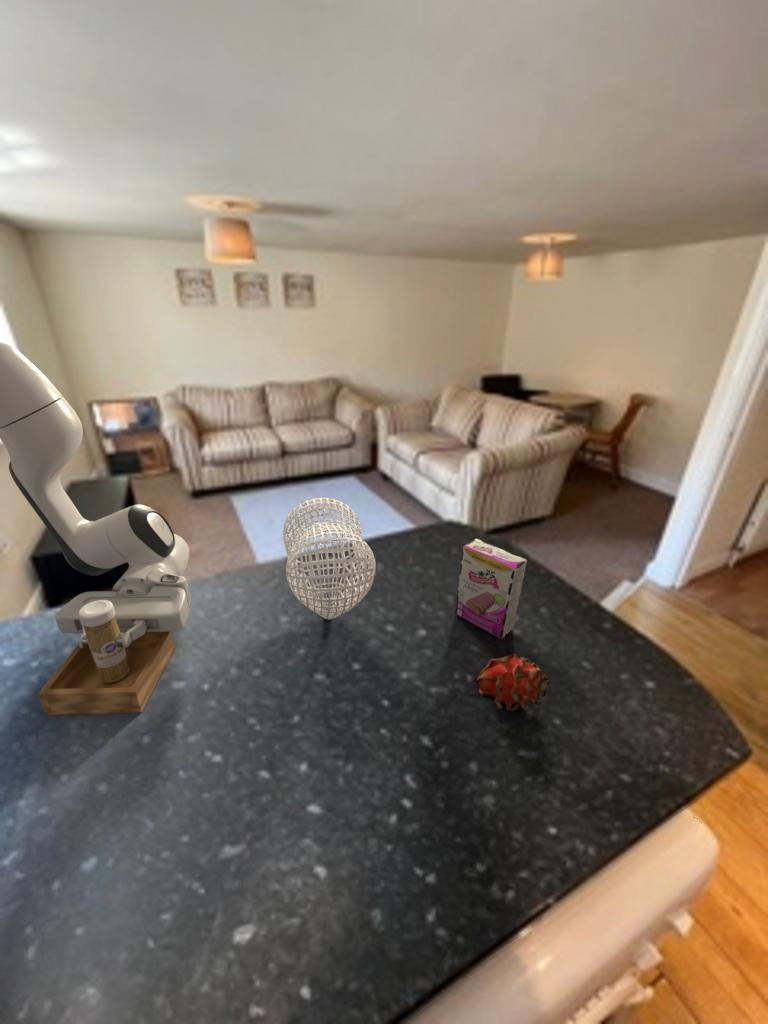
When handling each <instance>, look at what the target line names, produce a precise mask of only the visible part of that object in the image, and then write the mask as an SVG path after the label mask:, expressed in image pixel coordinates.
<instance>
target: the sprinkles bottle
mask: <svg viewBox="0 0 768 1024" xmlns="http://www.w3.org/2000/svg"><path fill="white" fill-rule="evenodd" d="M78 615H79V619H80V622H81V624H82V625H83V627H84V630H85V632H86V636H87V641H88V644H89V647H90V650H91V653H92V656H93V659H94V662H95V664H96V667H97V670H98V672H99V679H100V681H102V682H104V683H114V682H117V681H119V680H121V679H123V678H124V677H126V676H127V674H128V673H129V671H130V665H129V664H128V660H127V657H126V652H125V648H124V647H117V644H116V638H117V637H118V636H119V634H120V630H119V628H118V625H117V622H116V618H115V610H114V607H113V604H112V603H111V602H110V601H107V600H98V601H93V602H91V603H88V604H86V605H85V606H83V607H82V608H81V609H80V611H79V613H78Z"/></svg>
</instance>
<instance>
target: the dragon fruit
mask: <svg viewBox="0 0 768 1024" xmlns="http://www.w3.org/2000/svg"><path fill="white" fill-rule="evenodd" d="M549 681H550V680H549V679H548V677H547V675H546V674H543V670H542V669H541V668H540V667H539V666H538V664H536V663H535V662H532V663H531V661H530V659H528V658H526V657H518V655H517V654H514V653H512V654H510V655H506V656H504V657H499V658H491V659H490V660H489V661H488V663H487V664H486V665H485V667H484V668H483V669H482V670H481V671H480V672H479V674H477V675H476V676H475V677H474V678H473V680H472V681H471V682H472V683H471V684H472V685H471V686H474V685H477V687H478V693H479V694H480V695H481V696H482V697H483V698H484V699H486V700H488V701H493V704H494V706H495V709H497V710H502V709H503V706H502V704H501V703H502V702H504V703H505V708H506V711H510V712H513V711H516V710H518V708H519V707H521V708H522V710H524V711H527V712H529V711H531V710H532V705H530V706H529V708H527V703H528V702H529V703H531V704H533V705H534V706H540V705H541V704H542V702H541V701H540V698H544V697H546V694H547V686H548V685H550V682H549ZM477 687H475V690H476V688H477ZM489 695H490V696H489ZM493 698H494V699H493ZM512 705H513V706H512Z"/></svg>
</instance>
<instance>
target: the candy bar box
mask: <svg viewBox="0 0 768 1024" xmlns="http://www.w3.org/2000/svg"><path fill="white" fill-rule="evenodd" d="M460 560H461V561H460V569H459V575H458V576H459V577H458V579H459V580H458V584H457V593H456V602H455V608H454V609H455V610H454V615H455V614H456V615H455V616H457V615H458V616H459V617H458V616H457V617H458V618H460V617H461V618H460V619H462V618H463V619H462V620H464V619H465V620H464V621H466V620H467V621H466V622H467V623H469V622H470V623H469V624H471V623H472V624H471V625H473V624H474V625H473V626H475V625H476V626H475V627H477V626H478V627H480V628H483V629H485V630H486V631H489V632H490V633H492V634H494V635H496V636H498V637H500V638H503V637H504V636H505V635H506V634H508V633H509V632H510V631H511V630H512V629H513V628H514V629H515V624H516V619H517V614H518V607H519V603H520V599H521V593H522V588H523V585H524V584H523V582H524V578H525V575H526V569H527V564H528V560H527V559H526V558H523V557H521V556H518V555H516V554H514V553H511V552H510V551H507V550H504V549H502V548H499V547H498V546H495V545H492V544H490V543H489V542H485V541H484V540H481V539H479V538H475V539H473V540H472V541H470V542H469V543H466V544H464V545H463V546H462V551H461V559H460ZM478 627H477V628H478ZM480 628H479V629H480ZM514 629H513V630H514ZM513 630H512V631H513ZM486 631H485V632H486ZM512 631H511V632H512ZM511 632H510V633H511ZM510 633H509V634H510ZM509 634H508V635H509Z"/></svg>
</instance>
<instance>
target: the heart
mask: <svg viewBox="0 0 768 1024" xmlns="http://www.w3.org/2000/svg"><path fill="white" fill-rule="evenodd" d="M326 504H327V505H326ZM326 510H328V513H326ZM320 511H322V513H320ZM333 511H334V513H333ZM314 512H315V514H314ZM339 513H340V515H339ZM308 514H309V515H308ZM298 516H299V517H298ZM345 516H346V517H347V518H346V517H345ZM320 517H323V518H321V519H320ZM326 517H329V518H326ZM315 518H317V520H315ZM333 518H334V519H333ZM293 520H294V521H293ZM310 520H311V522H309V521H310ZM333 522H335V523H333ZM304 524H305V525H304ZM282 536H283V537H282V540H283V545H284V547H285V551H286V555H287V559H286V565H285V576H286V580H287V584H288V586H289V588H290V591H291V592H292V593H293V595H294V596H295V598H296V599H297V600H298V601H299V602H300V603H301V604H302V605H304V606H305V607H306V608H308V610H311V611H312V612H314V613H315V614H317V615H318V616H320V617H321V618H323V619H325V620H333V619H336V618H338V617H339V616H341V615H342V614H345V613H347V612H349V611H350V610H352V609H353V608H355V607H356V606H357V605H358V604H359V603H360V602H361V601H362V600H363V599H364V598H365V596H366V595H367V594H368V593H369V592H370V590H371V589H372V586H373V584H374V581H375V577H376V572H377V571H376V570H377V567H376V566H377V564H376V563H377V562H376V558H375V555H374V552H373V550H372V549H371V546H369V545H368V543H367V542H366V541H365V540H364V539H363V538H362V526H361V522H360V519H359V516H358V515H357V514H356V512H355V511H354V510H353V508H351V507H350V506H349V505H348V504H346V503H345V502H342V501H341V500H339V499H336V498H331V497H315V498H314V497H313V498H311V499H307V500H304V501H303V502H300V503H299V504H297V505H296V506H295V507H294V508H293V509H292V510H291V511H290V512H289V513H288V515H287V516H286V518H285V520H284V524H283V527H282ZM327 536H329V537H330V538H327ZM333 536H335V537H333ZM317 538H318V540H317ZM312 539H313V541H311V540H312ZM350 544H351V545H350ZM322 545H323V547H322ZM328 545H331V547H330V548H328V547H329V546H328ZM335 545H336V547H335ZM345 545H346V546H345ZM312 546H313V548H314V550H312V549H311V547H312ZM318 546H319V547H318ZM306 548H307V549H306ZM303 551H304V552H303ZM346 552H347V553H348V555H346ZM323 554H324V555H325V559H324V557H323ZM329 554H332V555H331V556H332V558H330V557H329ZM336 554H337V557H336ZM353 554H354V555H353ZM313 555H314V556H315V560H313V558H312V557H313ZM340 555H341V558H340ZM352 555H353V556H352ZM303 557H304V558H303ZM320 557H321V559H320ZM304 559H305V561H304ZM324 565H326V566H324ZM330 565H332V566H330ZM337 565H338V566H337ZM314 566H316V567H315V568H314ZM321 566H322V567H321ZM348 566H349V567H348ZM305 567H306V569H305ZM341 569H342V573H340V571H341ZM321 570H322V571H321ZM325 570H326V574H325ZM330 570H332V574H330ZM299 571H300V572H299ZM315 571H317V575H316V573H315ZM346 571H347V572H346ZM306 573H307V574H308V575H307V574H306ZM349 576H350V577H349ZM339 578H340V580H339ZM348 578H349V579H348ZM322 579H323V582H322ZM326 579H327V582H326ZM330 579H332V580H331V581H330ZM318 580H319V581H318ZM334 580H335V581H334ZM314 581H315V582H314ZM318 582H319V583H318ZM342 582H343V583H342ZM326 585H327V586H326ZM334 585H335V586H334ZM323 586H324V587H323ZM324 593H325V596H324ZM327 595H328V597H327Z"/></svg>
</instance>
